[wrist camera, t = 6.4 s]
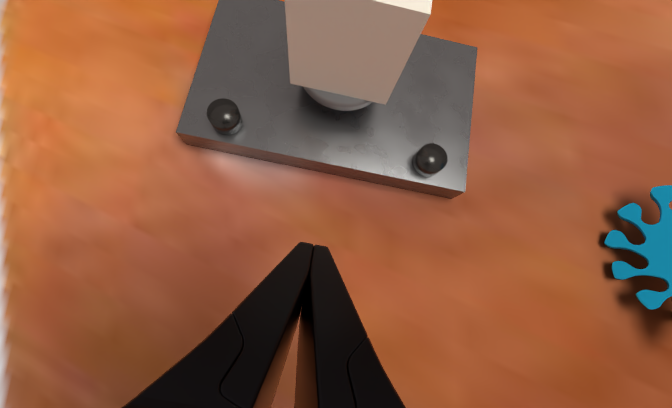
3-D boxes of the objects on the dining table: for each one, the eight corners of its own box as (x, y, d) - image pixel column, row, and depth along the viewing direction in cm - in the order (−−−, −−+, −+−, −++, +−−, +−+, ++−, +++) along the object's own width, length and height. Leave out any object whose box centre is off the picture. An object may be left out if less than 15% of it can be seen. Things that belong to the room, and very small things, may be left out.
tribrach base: (451, 198, 24) (474, 187, 21) (186, 144, 23) (168, 123, 19) (464, 64, 27) (486, 36, 23) (229, 9, 25) (218, -28, 22)
